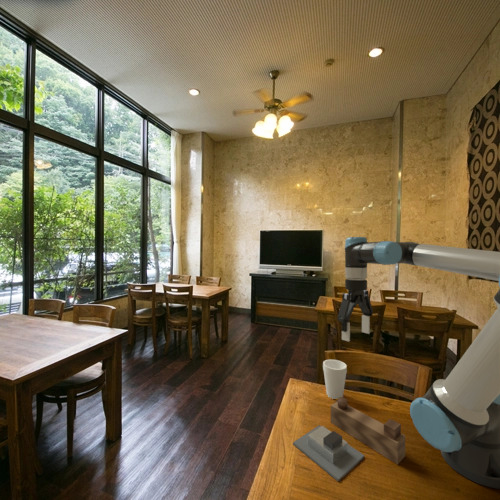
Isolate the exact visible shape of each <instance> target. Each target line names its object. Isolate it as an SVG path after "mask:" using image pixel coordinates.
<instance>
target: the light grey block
mask: <svg viewBox="0 0 500 500" xmlns="http://www.w3.org/2000/svg"><path fill="white" fill-rule="evenodd" d="M320 426H321V427H319V428H318V429H316V430H315V431H313V432H312V433H310V434H309V435H308V445H309V446H310V447H311V448H313V449H314V450H315V451H316V452H318V453H319V454H320V455H322V456H323V457H324V458H325V459H327V460H328V461H329V462H331V463H332V464H334V463H336V462H337V461H338V460H339V459H340V458H342V457H343V456H344V455H345V454H346V453H347V444H348V442H347V441H346V440H345V439H343V436H342V435H341V434H340V433H338V432H336V431H334V430H332V431H331V430H329V429H328V428H327V427H325V426H324V425H320Z"/></svg>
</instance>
